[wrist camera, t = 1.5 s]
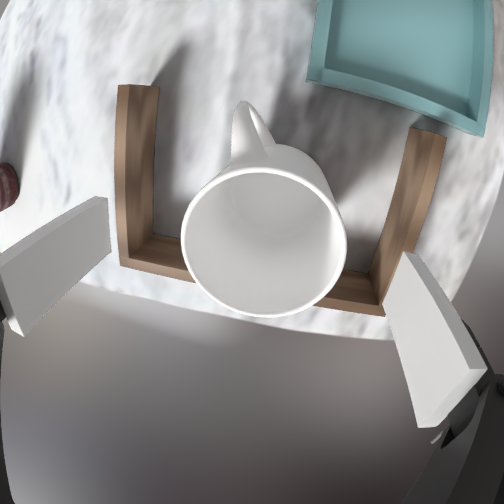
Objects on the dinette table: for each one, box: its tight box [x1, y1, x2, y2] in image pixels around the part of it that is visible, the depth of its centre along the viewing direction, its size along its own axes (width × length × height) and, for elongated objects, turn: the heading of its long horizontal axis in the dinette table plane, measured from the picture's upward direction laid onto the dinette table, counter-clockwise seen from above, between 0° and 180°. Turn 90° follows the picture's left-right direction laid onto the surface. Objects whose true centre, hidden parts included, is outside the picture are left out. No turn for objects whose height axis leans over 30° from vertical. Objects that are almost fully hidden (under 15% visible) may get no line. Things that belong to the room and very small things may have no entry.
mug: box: [181, 101, 347, 317], centre depth 19 cm, size 9×12×11 cm
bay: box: [114, 84, 447, 317], centre depth 22 cm, size 15×23×5 cm, turn 82°
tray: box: [306, 0, 493, 138], centre depth 14 cm, size 18×15×3 cm
